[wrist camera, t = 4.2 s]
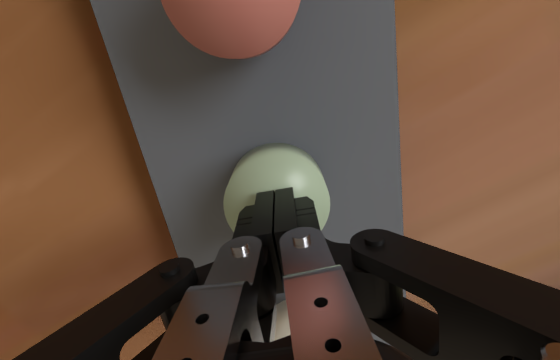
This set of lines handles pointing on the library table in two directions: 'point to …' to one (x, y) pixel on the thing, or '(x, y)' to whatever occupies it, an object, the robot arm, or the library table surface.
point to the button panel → (263, 113)
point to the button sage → (275, 179)
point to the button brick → (232, 24)
